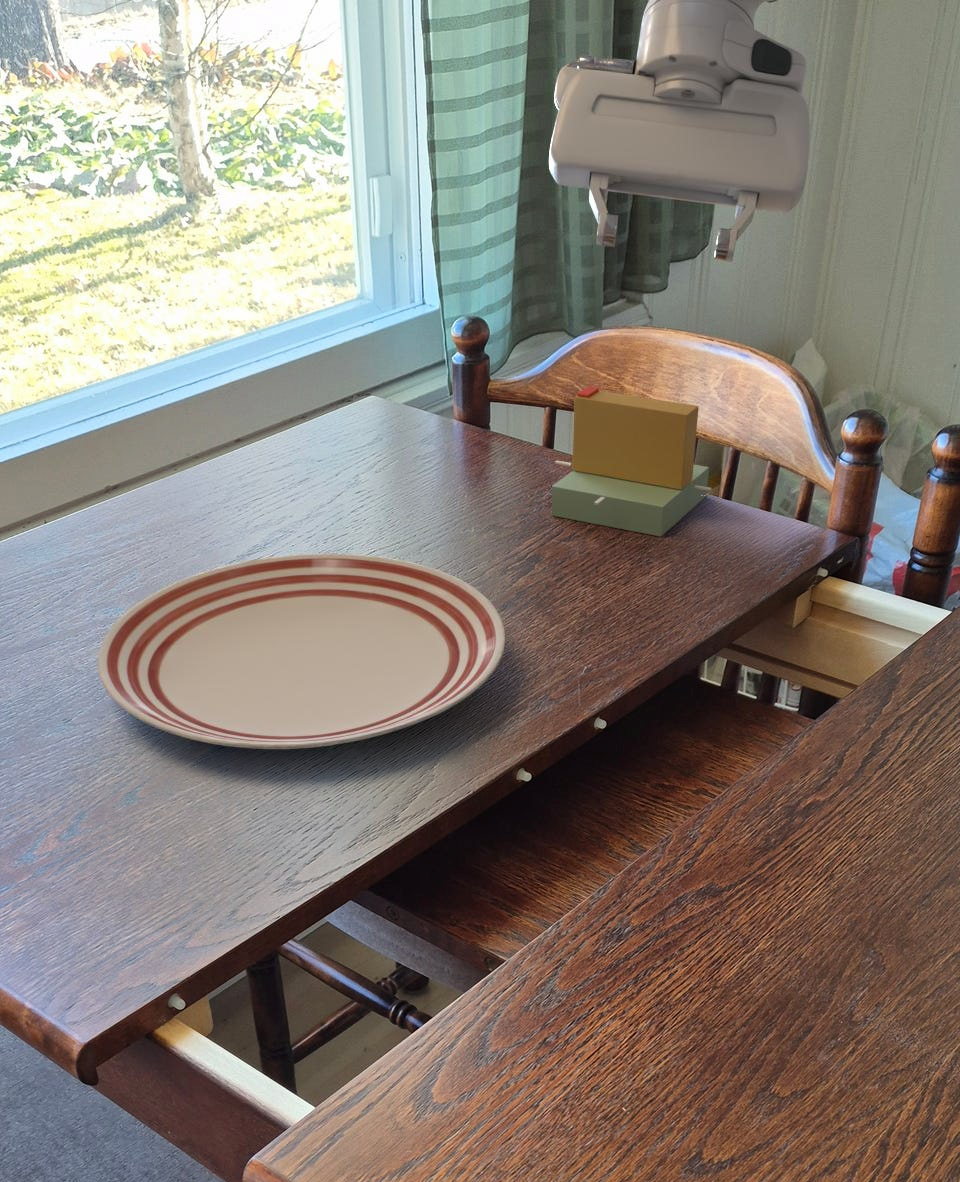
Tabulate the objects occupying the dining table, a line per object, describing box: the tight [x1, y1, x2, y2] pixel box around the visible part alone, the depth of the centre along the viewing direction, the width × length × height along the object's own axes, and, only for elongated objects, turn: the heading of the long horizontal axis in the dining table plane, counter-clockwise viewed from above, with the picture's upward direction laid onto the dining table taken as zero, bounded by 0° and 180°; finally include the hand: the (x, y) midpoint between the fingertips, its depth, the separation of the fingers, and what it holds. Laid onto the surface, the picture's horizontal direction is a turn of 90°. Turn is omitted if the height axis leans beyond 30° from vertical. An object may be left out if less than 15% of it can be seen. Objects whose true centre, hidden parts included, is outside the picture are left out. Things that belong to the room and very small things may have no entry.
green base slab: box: [551, 460, 713, 538], centre depth 121 cm, size 14×14×3 cm
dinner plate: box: [97, 553, 506, 750], centre depth 98 cm, size 28×27×3 cm
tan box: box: [571, 386, 699, 490], centre depth 118 cm, size 10×2×6 cm, turn 62°
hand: (664, 250), depth 113 cm, fingers open, 8 cm apart
